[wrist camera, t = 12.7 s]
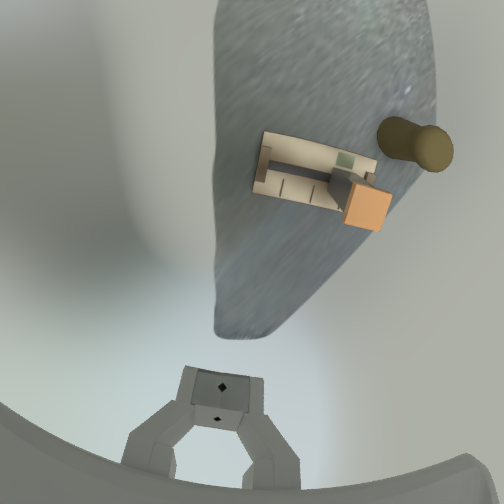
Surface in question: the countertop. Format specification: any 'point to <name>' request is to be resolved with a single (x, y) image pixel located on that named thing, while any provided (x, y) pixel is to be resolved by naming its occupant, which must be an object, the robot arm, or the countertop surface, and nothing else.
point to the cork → (415, 143)
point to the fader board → (304, 169)
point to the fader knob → (358, 200)
